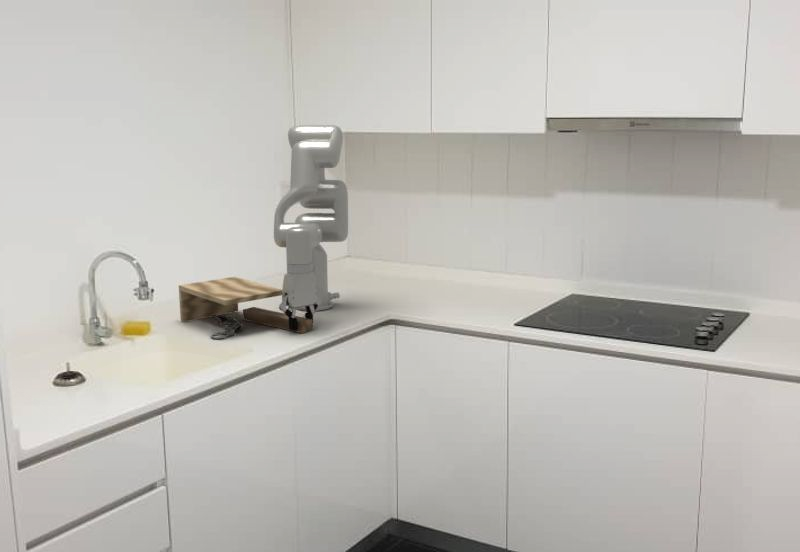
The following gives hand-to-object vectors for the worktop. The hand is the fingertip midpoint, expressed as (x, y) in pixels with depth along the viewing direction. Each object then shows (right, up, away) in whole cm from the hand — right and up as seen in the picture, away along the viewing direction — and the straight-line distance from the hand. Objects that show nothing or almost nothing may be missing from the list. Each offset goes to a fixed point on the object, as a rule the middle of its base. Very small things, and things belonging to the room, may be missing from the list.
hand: (301, 327), depth 248 cm
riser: (-22, +1, +8) cm, 24 cm away
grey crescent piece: (-24, -1, +5) cm, 24 cm away
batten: (-7, +3, +8) cm, 11 cm away
